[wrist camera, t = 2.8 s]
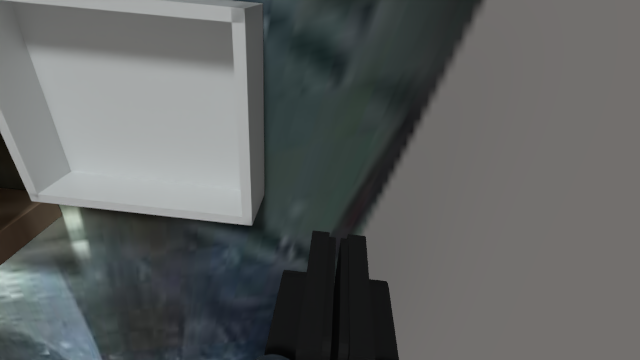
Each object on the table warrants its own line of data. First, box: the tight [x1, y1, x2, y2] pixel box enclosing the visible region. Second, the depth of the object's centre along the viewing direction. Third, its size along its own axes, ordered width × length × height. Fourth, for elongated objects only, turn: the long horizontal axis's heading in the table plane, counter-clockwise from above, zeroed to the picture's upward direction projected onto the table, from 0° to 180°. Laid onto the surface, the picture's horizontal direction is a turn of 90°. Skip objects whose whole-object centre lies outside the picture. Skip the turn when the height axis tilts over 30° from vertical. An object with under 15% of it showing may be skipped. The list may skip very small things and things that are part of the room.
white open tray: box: [0, 0, 264, 226], centre depth 19 cm, size 14×12×4 cm
